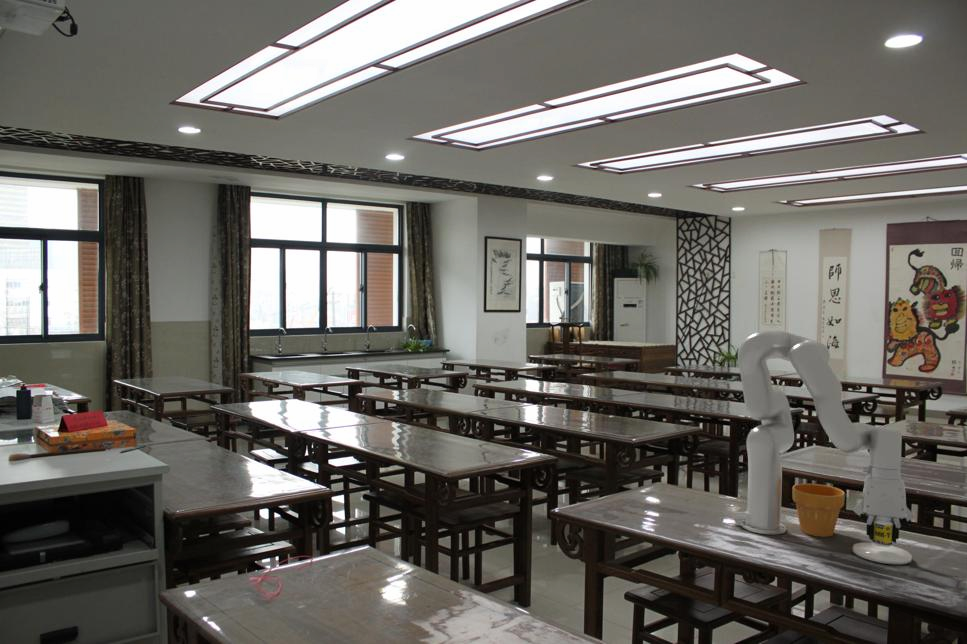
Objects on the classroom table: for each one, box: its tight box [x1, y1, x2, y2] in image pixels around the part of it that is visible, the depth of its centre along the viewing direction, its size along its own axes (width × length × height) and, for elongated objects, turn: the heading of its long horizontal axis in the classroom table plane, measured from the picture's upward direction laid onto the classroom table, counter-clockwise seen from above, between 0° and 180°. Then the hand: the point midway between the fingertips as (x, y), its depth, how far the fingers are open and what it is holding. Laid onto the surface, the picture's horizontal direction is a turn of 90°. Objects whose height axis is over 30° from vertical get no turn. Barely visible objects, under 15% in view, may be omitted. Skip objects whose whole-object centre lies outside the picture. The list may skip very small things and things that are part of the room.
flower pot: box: [791, 483, 846, 538], centre depth 216 cm, size 14×14×13 cm
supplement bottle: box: [871, 516, 894, 547], centre depth 195 cm, size 5×5×8 cm
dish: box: [852, 542, 913, 565], centre depth 196 cm, size 14×14×2 cm
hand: (882, 539), depth 195 cm, fingers closed on supplement bottle, 4 cm apart
